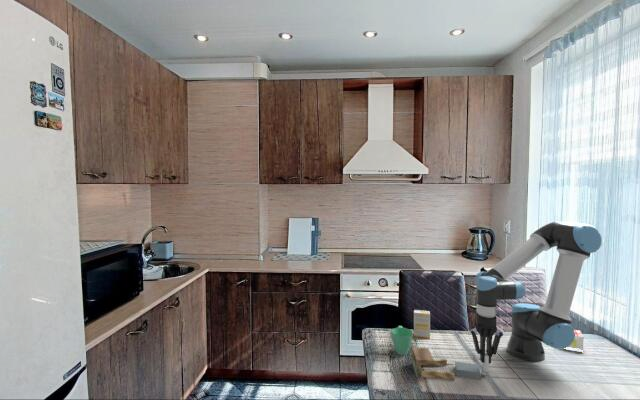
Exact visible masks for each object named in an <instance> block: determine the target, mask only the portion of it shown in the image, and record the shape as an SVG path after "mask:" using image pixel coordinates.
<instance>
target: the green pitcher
mask: <svg viewBox="0 0 640 400" xmlns="http://www.w3.org/2000/svg"><path fill="white" fill-rule="evenodd" d="M413 337H414V331H412V330H411V329H409V328H406V327H403V326H402V325H398V326H397V327H395V328H392V329H391V338H392V341H393V345H394V348H395V351H396V353H397V354H398V355H400V356H406V355H408V353H409V350H410V348H411V344H412V340H413Z"/></svg>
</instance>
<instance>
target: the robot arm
mask: <svg viewBox="0 0 640 400" xmlns="http://www.w3.org/2000/svg"><path fill="white" fill-rule="evenodd" d="M601 235H602V234H601V233H600V231H599V230H598V229H597V228H596V227H595V226H593V225H592V224H587V223H582V222H570V221H562V220H557V221H553V222H549V223H547V224H545V225H543V226H541V227H539V228H538V229H537V230H535V231H533V232H532V233H531V234H530V235H529V239H527V240H525V242H523V243H522V244H521V245H520V246H518V247H517V248H516V249H514V250H513V251H512V252H510V253H508V255H507V256H506V257H504V258H503V259H502V260H500V261H499V262H498V263H497V264H496V265H494V266H493V267H492V268H490V269H489V270H488V271H479V272H478V273H477V274H476V275H475V277H474V278H475V279H474V281H475V284H476V315H475V319H476V321H475V322H476V324H475V326H474V328H470V329H469V332H470V334H471V337H472V342H473V344H474V349H475V351H476V353H477V354H479V357H480V358H479V359H480V362H481V364H482V365H481V366H482V367H481V368H482V370H483V371H484V372H486V373H490V372H489V365H490V364H491V363H492V358H493V355H494V356H496V355H497V352H498V349H499V345H500V341H501V338H502V337H503V335H504V332H502V331H501V330H499V329H498V327H497V318H498V317H497V312H498V311H497V310H498V308H497V307H498V306H497V305H498V301H508V300H512V301H513V300H514V301H515V300H520V299H523V298H524V297H525V295H526V288H525V286H524V284H523V283H522V282H521V281H519V280H508V279H509V278H511V277H512V276H513V275H515V274H516V273H517V272H518V271H519V270H521V269H522V268H523V267H525V266H526V265H527V264H529V263H530V262H531V261H533V260H534V259H535V258H536V257H537V256H538V255H541V253H542V252H544V251H549V250H550V249H552V248H554V247H556V250H557V253H558V254H559V255H558V258H557V261H556V265H555V268H554V272H553V276H552V280H551V283H550V286H549V290H548V293H547V298H546V301H545V305H544V306H542V307H541V306H540V305H538V304H533V303H523V302H521V303H515V304H513V305H512V306H511V313H510V314H511V334H510V336H509V339H508V341H507V344H506V349H507V352H508V353H509V354H510V355H512V356H514V357H516V358H519V359H521V360H525V361H530V362H531V361H532V362H541V361H543V360H545V357H546V352H545V350H544V347H543V344H545V345H546V346H547V347H551V348H553V349H556V350H563V349H564V348H566V347H568V346H570V345H571V344H572V343H573V341H574V339H575V331H574V330H575V328H574V327H573V326H572V325H571V324H572V318H571V316H570V310H571V307H572V303H573V300H574V297H575V292H576V290H577V286H578V283H579V279H580V274H581V272H582V270H583V269H582V268H583V265H584V261H585V260H588V259H590V257H591V254H593V253H596V252H597V251H598V250H599V249H600V248H601V245H602V236H601ZM477 334H479V340H478V336H477Z"/></svg>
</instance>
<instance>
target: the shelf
mask: <svg viewBox="0 0 640 400" xmlns="http://www.w3.org/2000/svg"><path fill="white" fill-rule="evenodd" d="M411 357H412V367H413V370H414V372H415V376H416V378H431V379H445V380H446V379H447V380H449V381H450V380H451V381H453V382H454V381H455V373H452V372H449V371H440V370H426V369H425V370H424V369H422V366H429V367H430V366H431V367H443V366H448V364H447V363H448V360H447V358H441V359H434V358H433V355H432V354H431V351H430V349H429V348H428V347H426V348H425V347H412V356H411Z"/></svg>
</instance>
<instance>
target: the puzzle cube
mask: <svg viewBox="0 0 640 400" xmlns="http://www.w3.org/2000/svg"><path fill="white" fill-rule="evenodd" d="M574 331H575V339H574V341H573V343H572V344H571V345H570V346H568V347H572V348H579V349H581V350H583V351H584V340H585V339H584V338H585V337H584V335H583V333H582V331H581V330H579V329H574Z"/></svg>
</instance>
